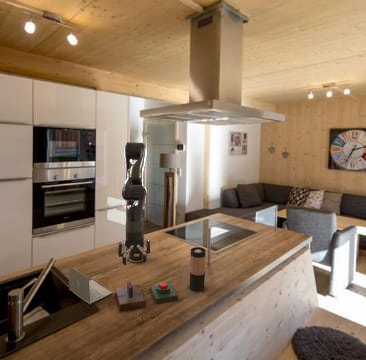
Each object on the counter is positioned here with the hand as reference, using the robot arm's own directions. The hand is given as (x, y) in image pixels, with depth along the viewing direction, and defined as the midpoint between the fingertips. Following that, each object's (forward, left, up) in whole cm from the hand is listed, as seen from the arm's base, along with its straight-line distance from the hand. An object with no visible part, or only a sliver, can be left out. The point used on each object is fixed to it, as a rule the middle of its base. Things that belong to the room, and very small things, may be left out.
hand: (134, 263), depth 127 cm
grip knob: (-1, -2, -15) cm, 15 cm away
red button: (-1, +14, -14) cm, 20 cm away
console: (-1, -2, -18) cm, 18 cm away
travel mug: (-2, +32, -18) cm, 37 cm away
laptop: (-13, -19, -18) cm, 29 cm away
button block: (-1, +14, -18) cm, 23 cm away
